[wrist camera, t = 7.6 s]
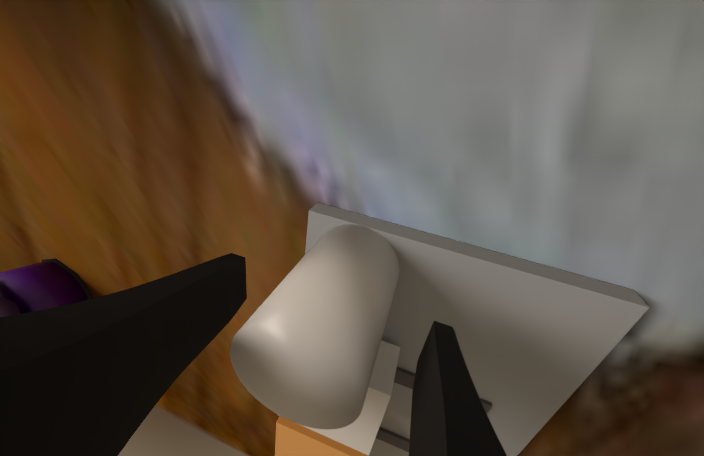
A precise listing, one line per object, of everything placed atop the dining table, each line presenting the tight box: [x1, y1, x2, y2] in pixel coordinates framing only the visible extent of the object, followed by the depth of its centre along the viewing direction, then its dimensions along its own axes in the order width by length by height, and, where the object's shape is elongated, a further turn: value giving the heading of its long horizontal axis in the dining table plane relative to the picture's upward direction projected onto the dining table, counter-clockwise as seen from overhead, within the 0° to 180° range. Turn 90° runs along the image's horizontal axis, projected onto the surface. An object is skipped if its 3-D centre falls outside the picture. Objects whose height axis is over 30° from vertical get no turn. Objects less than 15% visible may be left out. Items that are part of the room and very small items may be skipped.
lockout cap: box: [230, 224, 400, 430], centre depth 10 cm, size 4×4×6 cm
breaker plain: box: [277, 340, 400, 456], centre depth 14 cm, size 5×5×2 cm
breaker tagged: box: [275, 416, 367, 456], centre depth 17 cm, size 5×5×2 cm
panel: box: [305, 203, 650, 456], centre depth 16 cm, size 13×17×1 cm
